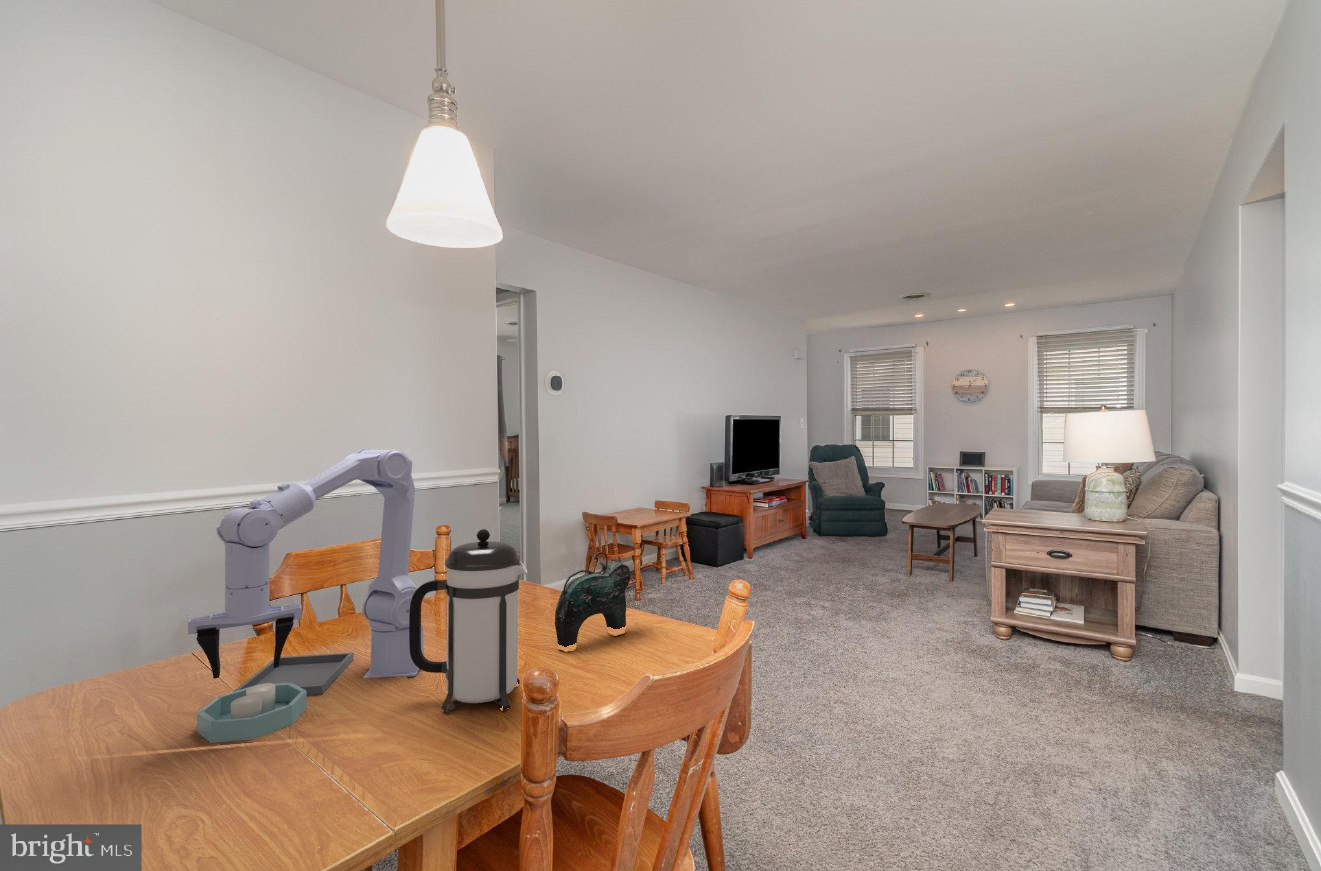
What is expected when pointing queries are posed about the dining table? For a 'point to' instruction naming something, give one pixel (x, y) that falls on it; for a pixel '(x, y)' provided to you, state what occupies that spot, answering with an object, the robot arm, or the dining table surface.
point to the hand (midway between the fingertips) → (247, 670)
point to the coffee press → (475, 622)
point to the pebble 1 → (246, 707)
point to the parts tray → (303, 672)
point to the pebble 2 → (264, 695)
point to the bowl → (222, 728)
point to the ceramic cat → (592, 600)
